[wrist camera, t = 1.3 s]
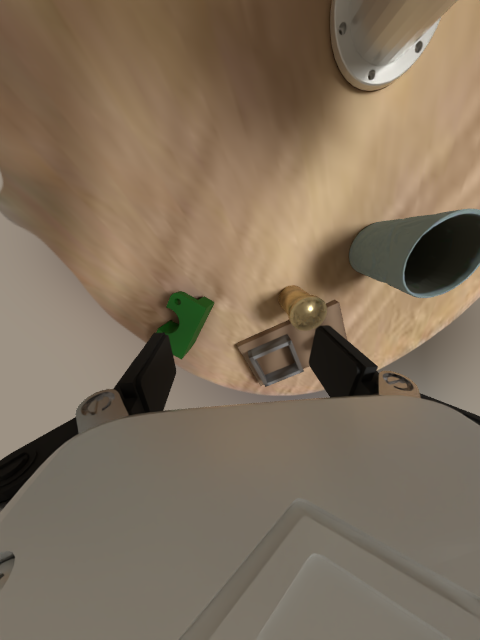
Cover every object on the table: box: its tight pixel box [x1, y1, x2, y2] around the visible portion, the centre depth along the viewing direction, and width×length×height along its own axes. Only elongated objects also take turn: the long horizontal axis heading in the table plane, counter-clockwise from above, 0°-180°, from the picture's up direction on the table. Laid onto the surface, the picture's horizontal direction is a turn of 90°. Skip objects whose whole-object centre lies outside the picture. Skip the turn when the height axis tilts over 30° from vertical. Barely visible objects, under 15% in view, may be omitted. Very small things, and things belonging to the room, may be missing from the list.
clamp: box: [156, 291, 214, 359], centre depth 32 cm, size 12×6×9 cm, turn 145°
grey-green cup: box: [349, 209, 480, 298], centre depth 26 cm, size 10×10×12 cm
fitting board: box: [237, 300, 347, 387], centre depth 36 cm, size 22×13×6 cm, turn 115°
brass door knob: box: [279, 285, 327, 331], centre depth 30 cm, size 6×6×8 cm
